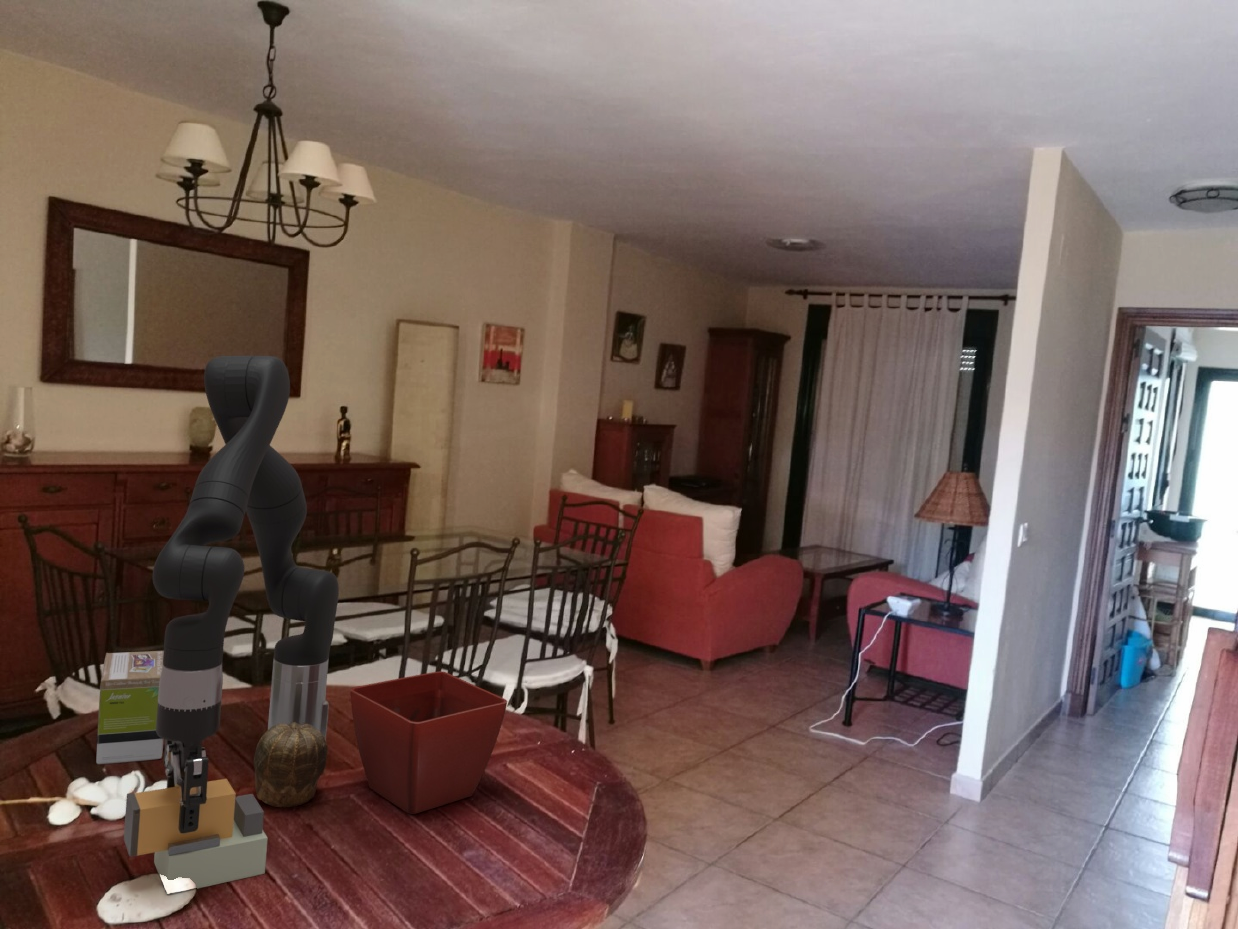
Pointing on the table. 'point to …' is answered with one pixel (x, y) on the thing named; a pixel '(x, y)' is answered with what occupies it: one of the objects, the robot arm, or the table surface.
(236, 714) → the table surface
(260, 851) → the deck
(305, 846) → the table surface
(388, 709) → the plant pot
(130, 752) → the tea box
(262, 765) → the shell
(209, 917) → the table surface
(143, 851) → the orange rectangular block
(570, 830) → the table surface
